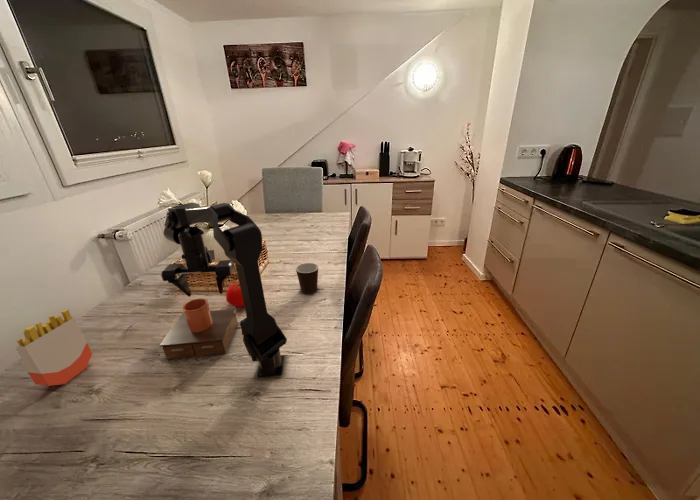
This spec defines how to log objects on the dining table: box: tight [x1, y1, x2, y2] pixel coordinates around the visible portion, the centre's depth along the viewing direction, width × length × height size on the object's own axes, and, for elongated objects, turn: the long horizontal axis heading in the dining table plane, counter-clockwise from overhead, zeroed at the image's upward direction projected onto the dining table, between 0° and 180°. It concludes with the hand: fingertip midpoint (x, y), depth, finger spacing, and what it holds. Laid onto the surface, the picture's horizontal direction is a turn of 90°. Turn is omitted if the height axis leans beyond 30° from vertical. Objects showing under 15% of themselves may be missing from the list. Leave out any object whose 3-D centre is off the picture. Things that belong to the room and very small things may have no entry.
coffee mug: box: [295, 262, 319, 295], centre depth 111 cm, size 12×9×10 cm
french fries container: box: [16, 309, 93, 387], centre depth 72 cm, size 5×11×18 cm, turn 171°
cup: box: [182, 297, 213, 332], centre depth 83 cm, size 6×6×8 cm
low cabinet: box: [159, 308, 238, 360], centre depth 85 cm, size 15×17×6 cm
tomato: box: [225, 281, 245, 308], centre depth 103 cm, size 9×10×8 cm
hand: (205, 294), depth 86 cm, fingers open, 9 cm apart
